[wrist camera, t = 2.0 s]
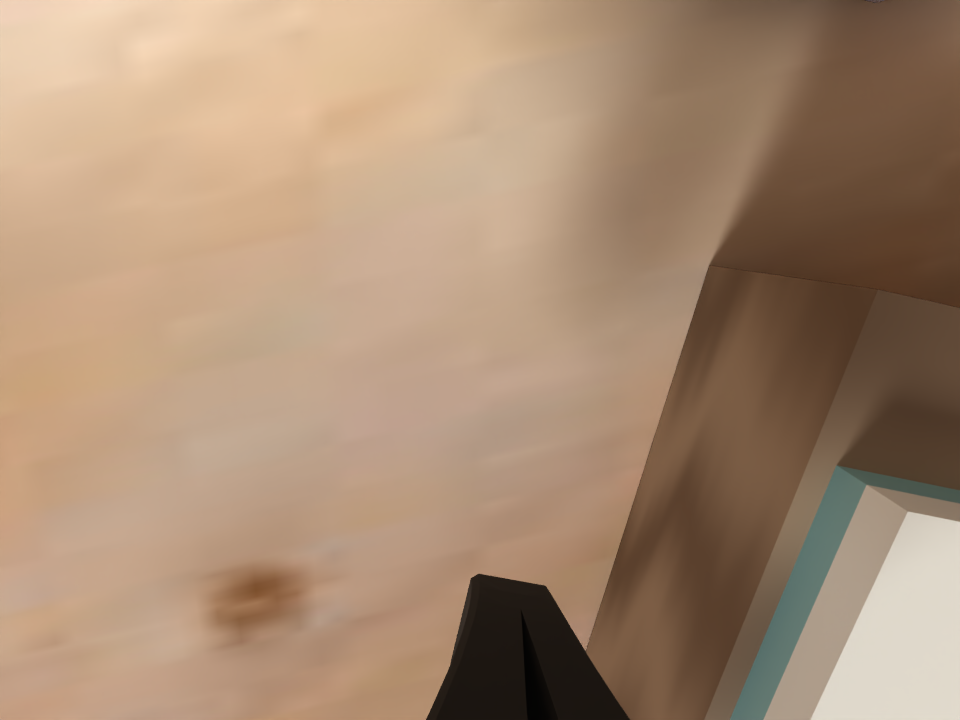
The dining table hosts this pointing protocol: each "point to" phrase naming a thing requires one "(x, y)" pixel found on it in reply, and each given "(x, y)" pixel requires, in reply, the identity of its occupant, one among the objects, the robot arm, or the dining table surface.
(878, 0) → the stone block
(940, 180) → the dining table surface
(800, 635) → the teal and white sponge
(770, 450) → the riser
